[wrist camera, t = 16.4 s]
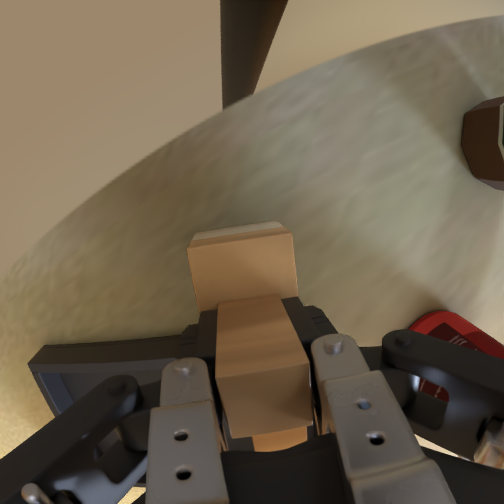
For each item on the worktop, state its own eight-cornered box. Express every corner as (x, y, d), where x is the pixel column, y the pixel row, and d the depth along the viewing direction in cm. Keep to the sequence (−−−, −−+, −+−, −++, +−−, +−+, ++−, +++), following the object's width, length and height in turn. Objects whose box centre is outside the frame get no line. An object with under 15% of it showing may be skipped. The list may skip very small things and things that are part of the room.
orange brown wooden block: (245, 393, 22) (247, 419, 19) (297, 385, 22) (306, 409, 19) (251, 428, 23) (255, 454, 20) (299, 420, 23) (307, 444, 20)
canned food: (452, 370, 24) (517, 434, 14) (384, 392, 24) (444, 478, 13) (467, 300, 23) (554, 353, 12) (396, 316, 22) (484, 396, 11)
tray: (44, 345, 20) (26, 363, 17) (317, 313, 21) (330, 333, 18) (106, 463, 24) (100, 483, 21) (321, 446, 25) (329, 468, 22)
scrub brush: (194, 232, 15) (159, 296, 7) (276, 220, 15) (337, 268, 7) (219, 357, 17) (220, 482, 8) (290, 345, 17) (337, 462, 8)
